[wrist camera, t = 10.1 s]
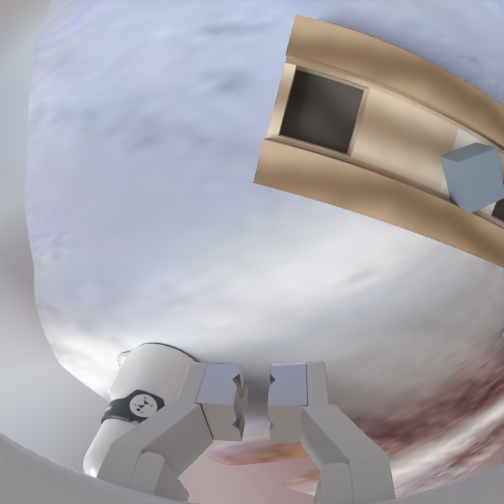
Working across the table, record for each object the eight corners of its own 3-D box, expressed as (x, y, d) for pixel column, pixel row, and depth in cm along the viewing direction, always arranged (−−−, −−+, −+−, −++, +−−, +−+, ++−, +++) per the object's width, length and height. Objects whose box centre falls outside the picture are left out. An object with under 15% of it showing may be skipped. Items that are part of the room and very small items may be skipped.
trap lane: (502, 257, 30) (521, 275, 26) (259, 172, 31) (253, 182, 27) (541, 150, 23) (564, 157, 19) (296, 29, 24) (296, 14, 20)
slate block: (450, 201, 26) (468, 213, 23) (439, 155, 25) (457, 162, 21) (485, 187, 25) (505, 197, 21) (475, 142, 23) (496, 147, 19)
